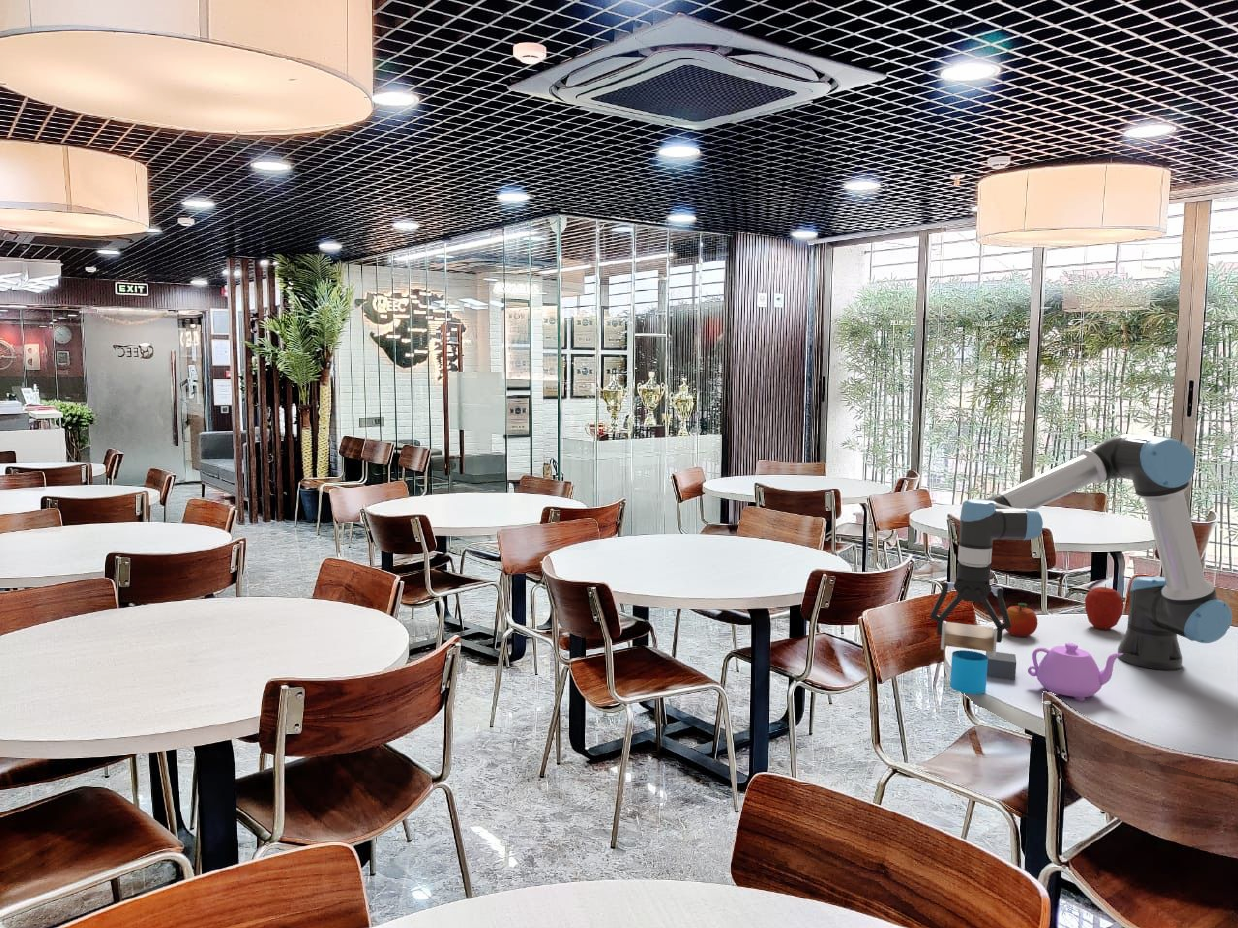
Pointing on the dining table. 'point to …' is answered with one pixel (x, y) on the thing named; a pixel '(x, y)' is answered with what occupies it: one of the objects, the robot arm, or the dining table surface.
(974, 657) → the mug
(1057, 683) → the teapot
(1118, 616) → the apple
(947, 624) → the block
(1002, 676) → the block
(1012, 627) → the fruit
